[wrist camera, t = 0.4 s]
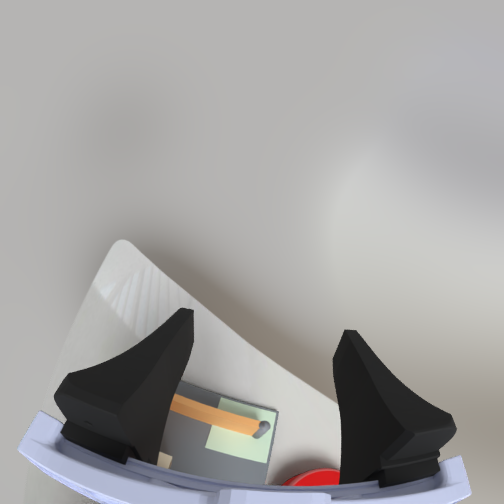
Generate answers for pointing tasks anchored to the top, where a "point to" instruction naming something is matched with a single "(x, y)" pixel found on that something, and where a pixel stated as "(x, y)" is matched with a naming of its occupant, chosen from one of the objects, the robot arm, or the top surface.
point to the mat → (194, 441)
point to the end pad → (240, 442)
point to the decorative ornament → (315, 478)
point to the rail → (219, 417)
